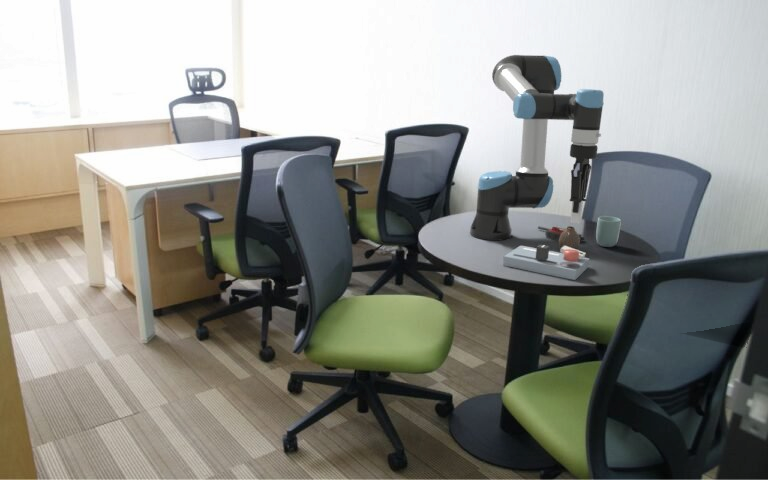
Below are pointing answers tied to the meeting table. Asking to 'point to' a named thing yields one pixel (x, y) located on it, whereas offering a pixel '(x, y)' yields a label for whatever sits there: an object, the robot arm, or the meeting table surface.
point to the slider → (542, 252)
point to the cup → (607, 231)
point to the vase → (569, 238)
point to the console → (545, 263)
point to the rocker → (581, 254)
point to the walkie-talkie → (556, 232)
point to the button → (571, 255)
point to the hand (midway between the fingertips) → (575, 222)
